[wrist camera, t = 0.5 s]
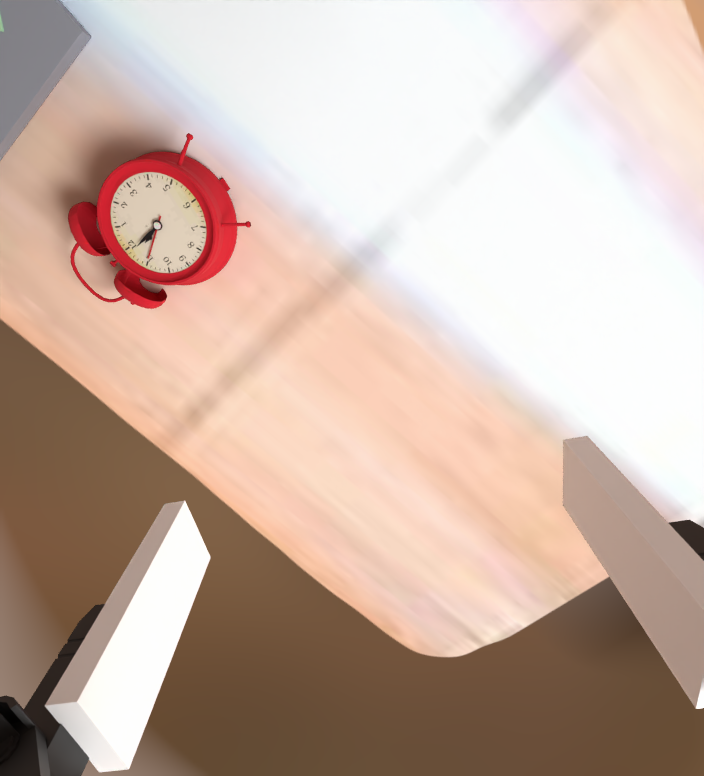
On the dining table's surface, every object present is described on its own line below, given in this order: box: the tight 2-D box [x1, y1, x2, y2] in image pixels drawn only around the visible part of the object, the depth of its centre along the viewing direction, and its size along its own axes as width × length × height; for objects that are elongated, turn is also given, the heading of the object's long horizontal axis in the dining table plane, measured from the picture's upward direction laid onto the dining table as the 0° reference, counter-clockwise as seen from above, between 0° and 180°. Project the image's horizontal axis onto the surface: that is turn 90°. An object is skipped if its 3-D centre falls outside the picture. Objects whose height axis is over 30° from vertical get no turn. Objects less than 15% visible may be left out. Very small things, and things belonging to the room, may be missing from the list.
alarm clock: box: [68, 133, 251, 309], centre depth 35 cm, size 10×6×15 cm
